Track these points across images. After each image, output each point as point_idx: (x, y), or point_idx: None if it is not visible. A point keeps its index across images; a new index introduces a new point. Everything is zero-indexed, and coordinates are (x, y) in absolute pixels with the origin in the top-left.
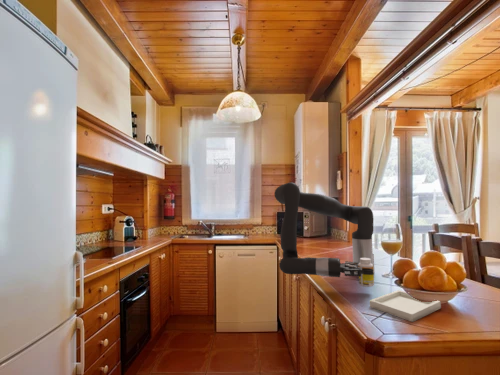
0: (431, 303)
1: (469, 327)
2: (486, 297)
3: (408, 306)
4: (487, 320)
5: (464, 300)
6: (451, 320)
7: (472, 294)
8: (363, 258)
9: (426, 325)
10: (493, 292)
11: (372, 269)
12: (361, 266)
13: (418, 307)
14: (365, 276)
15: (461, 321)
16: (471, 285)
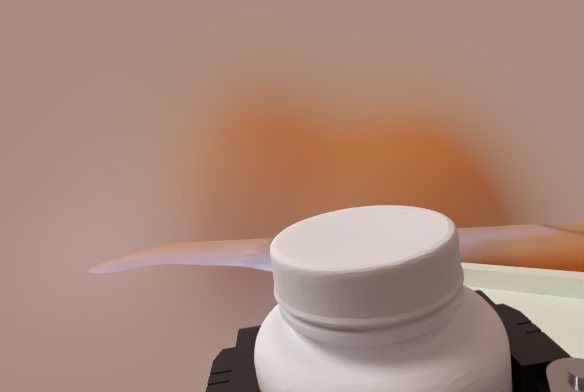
0: (492, 269)
1: (574, 243)
2: (249, 245)
3: (569, 338)
4: (463, 233)
5: None
6: (555, 264)
7: (227, 259)
8: (343, 244)
9: None
10: (198, 243)
11: (479, 292)
12: (506, 360)
13: (538, 313)
14: None
15: (535, 253)
16: (130, 265)
